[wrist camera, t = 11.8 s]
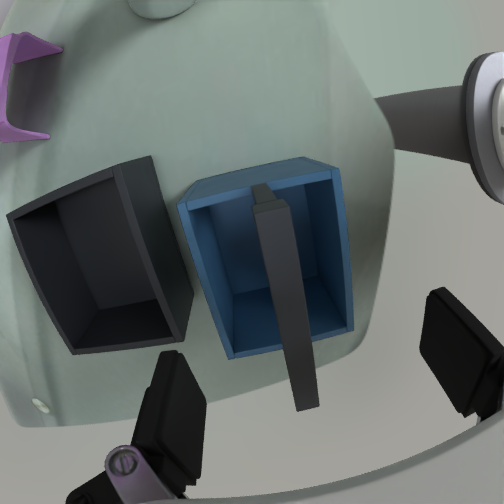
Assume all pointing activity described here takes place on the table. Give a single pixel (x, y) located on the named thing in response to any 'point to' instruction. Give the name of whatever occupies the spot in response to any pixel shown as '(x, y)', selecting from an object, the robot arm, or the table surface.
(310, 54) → the table surface
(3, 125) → the toy chair
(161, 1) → the beer glass
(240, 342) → the blue bin
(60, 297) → the charcoal bin
